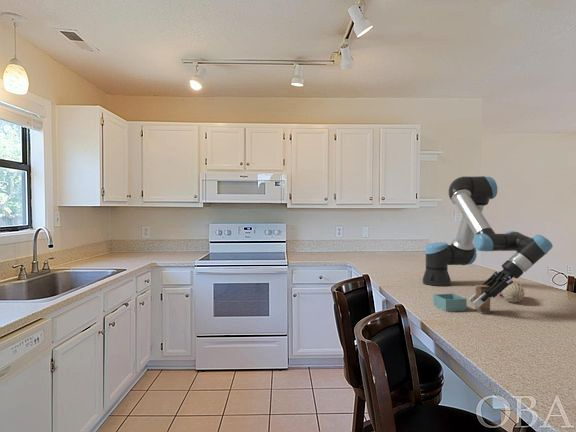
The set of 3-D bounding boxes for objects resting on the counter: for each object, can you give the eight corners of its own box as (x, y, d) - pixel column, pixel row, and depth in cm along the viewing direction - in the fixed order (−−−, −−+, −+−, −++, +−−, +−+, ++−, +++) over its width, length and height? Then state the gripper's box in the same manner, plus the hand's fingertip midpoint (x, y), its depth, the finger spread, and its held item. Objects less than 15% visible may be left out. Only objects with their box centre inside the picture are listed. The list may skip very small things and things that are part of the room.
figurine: (484, 289, 189) (502, 304, 160) (484, 273, 189) (502, 285, 160) (508, 290, 186) (531, 306, 157) (508, 274, 185) (531, 287, 157)
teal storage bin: (433, 305, 159) (433, 294, 159) (452, 304, 161) (452, 293, 160) (445, 311, 150) (445, 300, 150) (466, 310, 151) (466, 298, 151)
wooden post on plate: (474, 310, 151) (474, 285, 150) (483, 310, 151) (483, 284, 151) (481, 313, 146) (481, 287, 146) (491, 313, 147) (491, 286, 147)
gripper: (500, 256, 155) (460, 292, 158) (519, 262, 138) (473, 303, 141) (513, 268, 154) (472, 304, 158) (533, 276, 137) (487, 316, 140)
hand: (473, 303), depth 149 cm, fingers closed on wooden post on plate, 4 cm apart
